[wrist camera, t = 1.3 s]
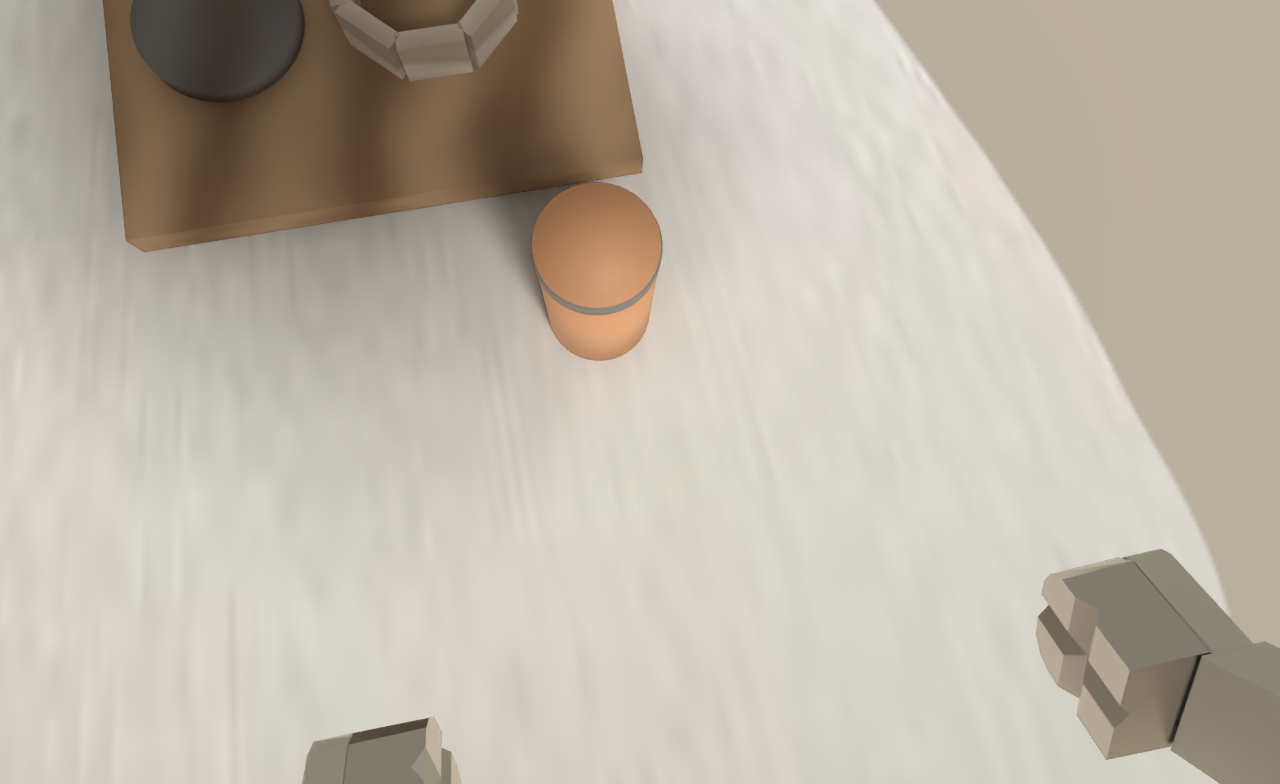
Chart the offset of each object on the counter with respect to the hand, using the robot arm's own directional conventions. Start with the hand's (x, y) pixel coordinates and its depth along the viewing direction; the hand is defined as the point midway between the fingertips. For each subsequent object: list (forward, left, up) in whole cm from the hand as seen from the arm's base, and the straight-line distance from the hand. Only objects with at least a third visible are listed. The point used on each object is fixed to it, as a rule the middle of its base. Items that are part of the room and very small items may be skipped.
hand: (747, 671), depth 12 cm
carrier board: (-8, +27, -26) cm, 38 cm away
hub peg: (0, +12, -26) cm, 29 cm away
